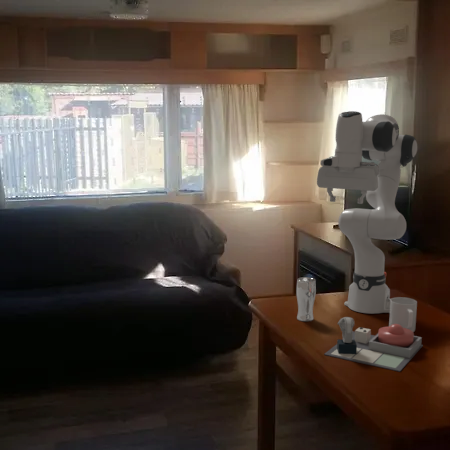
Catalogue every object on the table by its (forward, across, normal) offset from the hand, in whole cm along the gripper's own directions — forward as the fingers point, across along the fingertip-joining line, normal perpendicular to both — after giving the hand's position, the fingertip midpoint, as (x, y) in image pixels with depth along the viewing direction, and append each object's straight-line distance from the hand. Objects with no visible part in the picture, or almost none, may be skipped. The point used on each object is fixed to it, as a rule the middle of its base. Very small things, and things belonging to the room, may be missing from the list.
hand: (346, 202), depth 211 cm
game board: (+45, -15, +12) cm, 49 cm away
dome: (+43, -20, +6) cm, 48 cm away
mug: (+46, -19, -10) cm, 50 cm away
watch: (+45, -7, +18) cm, 49 cm away
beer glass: (+46, +16, -7) cm, 49 cm away
